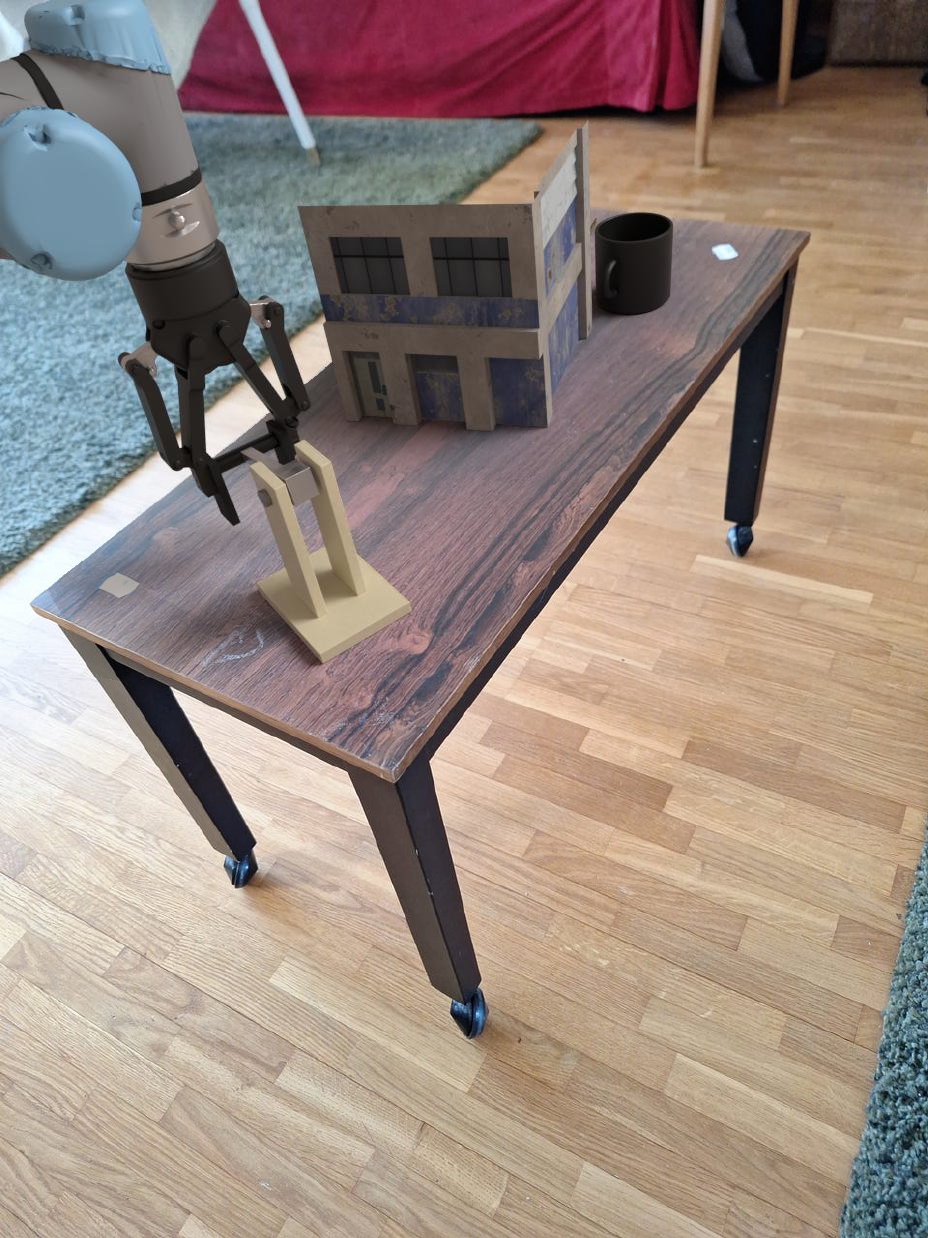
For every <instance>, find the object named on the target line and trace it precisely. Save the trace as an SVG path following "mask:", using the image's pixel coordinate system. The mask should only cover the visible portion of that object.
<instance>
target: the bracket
mask: <svg viewBox="0 0 928 1238" xmlns="http://www.w3.org/2000/svg"><path fill="white" fill-rule="evenodd" d="M294 447H295V450H296V454H297V455H296V456H297V461H299V462H301V463H303V464H304V465H306V466H308V467H310V469H311V472H312V475H313V477H314V480H315V482H316V485H317V488H318V490H319V493H320V495H318V496H316V497H314V498H312V499H310V502H311V505H312V508H313V509H312V510H313V511H314V516H315V519H316V521H317V524H318V528H319V531H320V535H321V537H322V541H323V544H324V546H323V547H321V548H319V549H317V550H315V551H313V552H311V553H309V552H308V548H307V545H306V542H305V539H304V536H303V533H302V531H301V527H300V524H299V522H298V518H297V515H296V513H295V510H294V505H293V504H292V503H291V500H290V497H289V494H288V491H287V488H286V485H285V484H284V483H283V482H282V481H281V480H280V479H279V478H278V477H277V476H276V475H275V474H273V473H272V472H271V471H270V470H269V469H268V468H267V467H266V466H265V465H264V464H262V463H261V462H260V461H259V462H257V463H255V464H253V465H248V466H249V470H250V474H251V475H252V479H253V481H254V484H255V487H256V490H257V497H258V499H259V500H260V502H261V504H262V507H263V509H264V512H265V515H266V517H267V521H268V524H269V526H270V530H271V532H272V534H273V535H272V536H273V537H274V541H275V543H276V546H277V548H278V551H279V554H280V557H281V560H282V563H283V565H284V567H283V568H281V569H279V570H277V571H275V572H274V573H271V574H270V575H268V576H266V577H265V578H262V579H261V580H259V581H257V582H256V583H255V584H256V587H257V590H258V592H259V593H260V595H261V596H262V597H263V598H264V599H265V600H266V602H267V603H268V604H269V605H270V606H271V607H272V608H273V609H274V610H275V612H276V614H278V615H279V617H281V619H282V620H283V621H284V622H285V623H286V624H287V625H288V627H290V629H291V630H292V631H293V632H294V633H295V634H296V635H297V636H298V638H299V639H300V640H301V641H302V642H303V643H304V644H305V646H306V647H307V648H308V649H309V650H310V651H311V652H312V653H313V655H314V656H315V657H316V659H318V661H320V662H321V664H323V665H324V664H325V663H327V662H329V661H330V660H333V659H334V658H335V657H337V656H339V655H341V654H342V653H344V652H346V651H348V650H349V649H351V648H352V647H354V646H356V645H358V644H360V643H361V642H363V641H364V640H366V639H368V638H370V637H372V636H373V635H375V634H376V633H378V632H380V631H381V630H383V629H385V628H386V627H389V626H390V625H391V624H393V623H395V622H396V621H399V620H401V619H402V618H404V617H405V616H407V615H408V614H410V613H412V607H411V601H409V600H408V599H407V598H406V597H405V596H403V594H401V592H400V591H398V589H396V588H395V587H394V586H393V585H392V584H391V583H390V582H388V580H386V579H385V578H384V577H383V576H382V575H381V574H380V573H379V572H378V571H376V570H375V568H373V566H371V565H370V564H369V563H368V562H367V561H366V560H365V559H363V558H362V557H361V556H360V555H359V554H358V553H357V549H356V547H355V543H354V540H353V535H352V532H351V529H350V525H349V522H348V518H347V515H346V510H345V507H344V503H343V500H342V496H341V492H340V489H339V486H338V482H337V477H336V475H335V472H334V467H333V463H332V461H331V460H329V458H328V457H326V456H324V455H323V453H321V452H320V451H318V450H317V449H316V448H315V447H314V446H313V445H311V444H310V443H309V442H308V441H306V440H305V439H303V440H300V442H298V443H296V444H294Z"/></svg>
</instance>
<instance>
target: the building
mask: <svg viewBox="0 0 928 1238" xmlns="http://www.w3.org/2000/svg"><path fill="white" fill-rule="evenodd" d="M589 130H590V129H589V120H586V122H585V124H584V126H583V127H581V128H576V129H575V131H574V132H573V133H572V135H571V137H570V138H569V140H568V141H567V142H566V144H565V145H564V147H563V148H562V149H561V151H560V153H559V154H558V155H557V157H556V158H555V160H554V161H553V163H552V164H551V166H550V167H549V169H548V170H547V172H546V173H545V175H544V176H543V177H542V179H541V180H540V182H538V184H537V186H536V187H535V189H534V190H533V201H532V202H531V203H468V204H467V203H461V204H460V203H459V204H458V203H456V204H455V203H454V204H450V203H449V204H370V205H369V204H368V205H367V204H363V205H361V204H360V205H353V204H352V205H297V206H296V207H297V211H298V214H299V219H300V222H301V227H302V230H303V235H304V239H305V242H306V246H307V247H306V248H307V251H308V254H309V259H310V264H311V267H312V271H313V275H314V280H315V284H316V287H317V292H318V295H319V299H320V303H321V308H322V311H323V312H322V313H323V315H324V316H323V317H324V319H325V321H324V322H323V323H322V327H323V330H324V331H323V332H324V334H325V339H326V343H327V347H328V351H329V355H330V359H331V361H332V367H333V370H334V375H335V379H336V382H337V387H338V392H339V395H340V399H341V403H342V406H343V411H344V415H345V419H346V421H351V422H359V421H360V420H361V418H362V417H382V418H391V419H392V423H393V425H402V426H403V425H404V426H416V427H417V426H419V424H420V423H421V421H422V419H423V420H424V419H425V420H438V421H439V420H440V421H451V422H452V421H455V422H465V426H466V430H470V431H471V430H473V431H485V432H493V431H494V429H495V427H496V425H497V424H498V425H507V426H508V425H510V426H523V427H524V426H525V427H538V428H549V426H550V425H551V421H552V419H553V417H554V415H553V397H554V395H555V393H556V391H557V388H558V387H559V384H560V382H561V379H562V377H563V375H564V373H565V371H566V369H567V367H568V365H569V362H570V360H571V358H572V356H573V353H574V351H575V349H576V347H577V345H578V342H579V340H580V339H582V340H587V339H588V338H589V336H590V333H591V331H592V328H593V307H592V306H593V303H592V295H593V294H592V248H591V247H592V245H591V243H592V242H591V236H590V227H591V191H590V190H591V188H590V186H591V185H590V134H589V133H590V131H589Z"/></svg>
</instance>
